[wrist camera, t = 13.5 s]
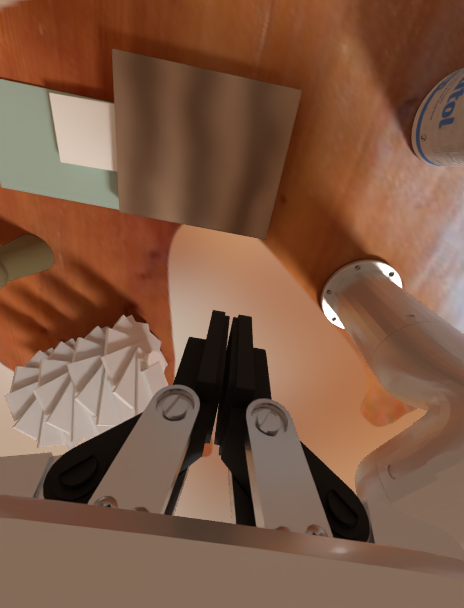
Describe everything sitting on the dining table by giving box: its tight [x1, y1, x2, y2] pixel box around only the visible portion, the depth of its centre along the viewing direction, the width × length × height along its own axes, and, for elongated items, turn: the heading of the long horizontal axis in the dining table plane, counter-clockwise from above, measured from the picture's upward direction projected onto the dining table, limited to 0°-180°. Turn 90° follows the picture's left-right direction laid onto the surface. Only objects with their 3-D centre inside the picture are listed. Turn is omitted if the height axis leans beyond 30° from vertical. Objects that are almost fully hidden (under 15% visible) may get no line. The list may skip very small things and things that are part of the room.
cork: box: [0, 234, 54, 289], centre depth 35 cm, size 6×6×11 cm
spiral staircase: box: [4, 315, 168, 449], centre depth 42 cm, size 18×18×25 cm
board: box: [112, 48, 302, 240], centre depth 31 cm, size 20×16×4 cm
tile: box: [49, 93, 117, 172], centre depth 31 cm, size 8×7×2 cm
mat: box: [0, 79, 119, 210], centre depth 33 cm, size 18×12×1 cm
